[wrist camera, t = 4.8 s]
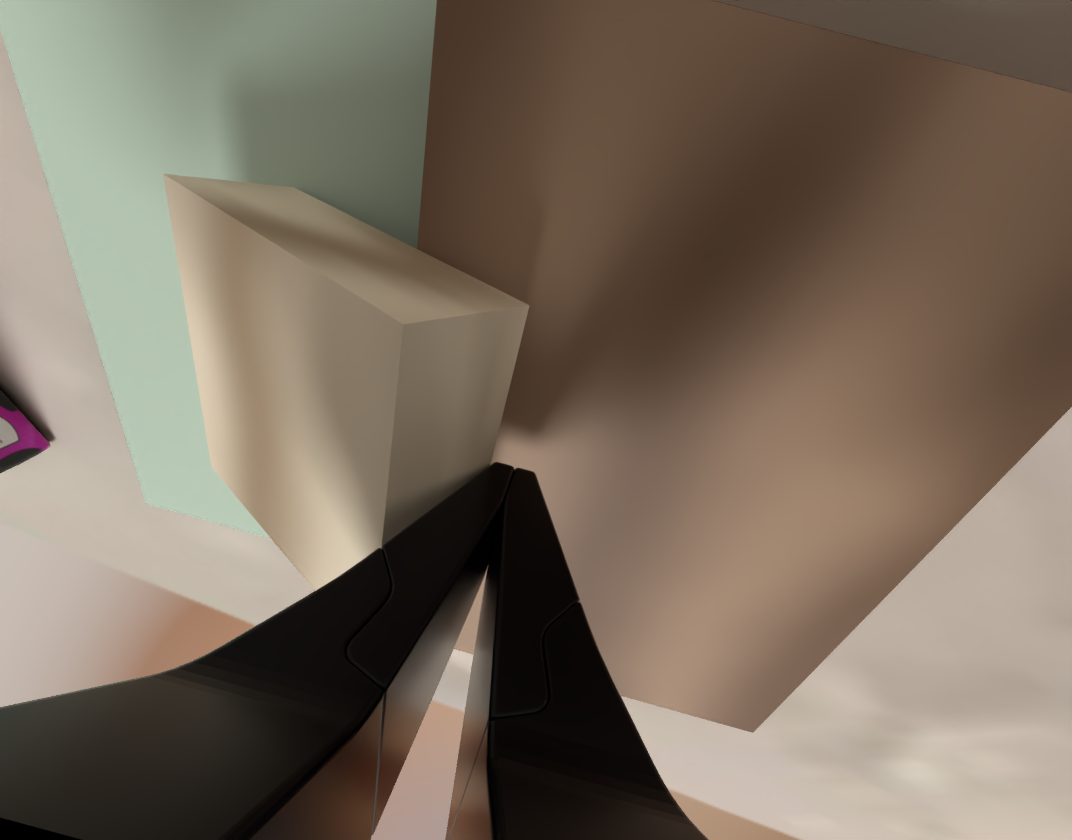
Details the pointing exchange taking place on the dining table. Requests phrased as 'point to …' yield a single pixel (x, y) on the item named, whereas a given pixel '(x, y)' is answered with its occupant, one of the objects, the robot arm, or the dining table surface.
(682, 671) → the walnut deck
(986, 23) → the dining table surface
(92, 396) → the dining table surface
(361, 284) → the birch block
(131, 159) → the sage mat
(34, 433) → the candy bar box
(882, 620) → the dining table surface
